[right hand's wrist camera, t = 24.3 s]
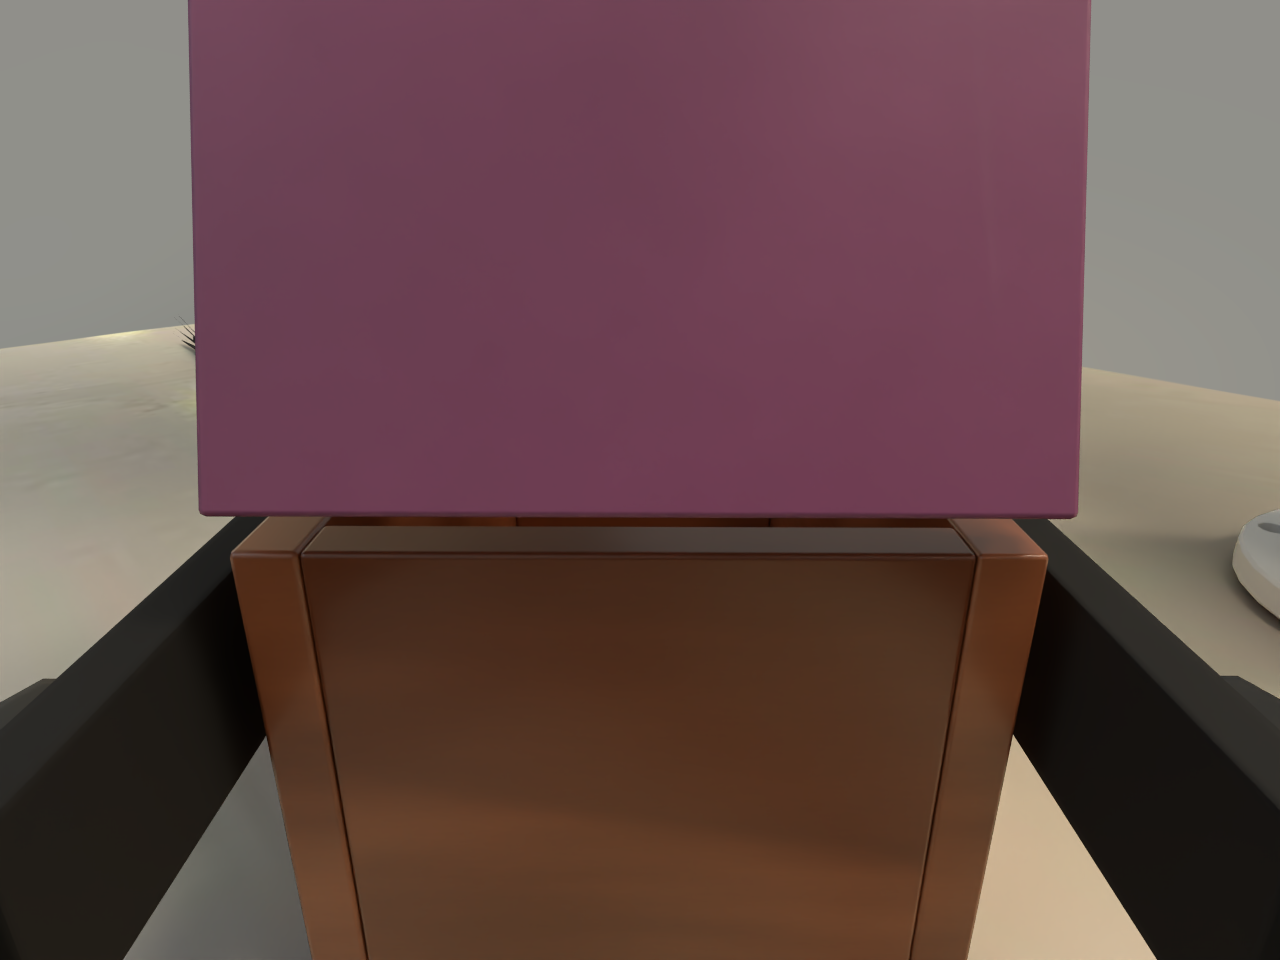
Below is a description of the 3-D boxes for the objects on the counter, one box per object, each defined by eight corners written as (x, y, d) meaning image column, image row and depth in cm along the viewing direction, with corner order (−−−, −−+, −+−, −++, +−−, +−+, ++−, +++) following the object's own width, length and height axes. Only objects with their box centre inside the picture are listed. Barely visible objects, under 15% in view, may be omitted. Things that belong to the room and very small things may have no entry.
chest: (497, 573, 28) (479, 311, 24) (788, 574, 28) (807, 311, 24) (328, 1053, 13) (224, 553, 10) (949, 1059, 13) (1052, 556, 10)
